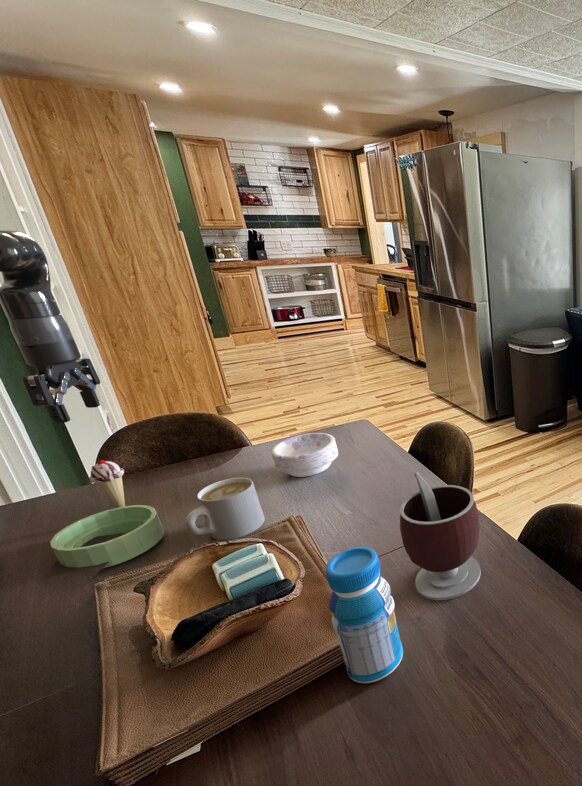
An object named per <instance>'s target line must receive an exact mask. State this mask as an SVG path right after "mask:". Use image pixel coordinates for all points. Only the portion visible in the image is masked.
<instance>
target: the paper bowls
mask: <svg viewBox="0 0 582 786" xmlns="http://www.w3.org/2000/svg"><path fill="white" fill-rule="evenodd" d="M338 449H339V448H338V446H337V443H336V438H335V437H334V435H331V434H329V433H326V432H312V433H311V432H310V433H304V434H298V435H294V436H292V437H288V438H286V439H284V440H281V441H280V442H278V443H276V444H275V445H274V446H273V447H272V449H271V456H272V459H273V463H274V466H275V469H276V470H277V471H278V472H282V473H287V474H288V475H290V476H292V477H296V478H305V477H311V476H316V475H318V474H321V473H323V472H324V471H326V470H327V469H329V467H330V466H331V464H332V463H333V462H334V460H336V459H337V458H338V456H339V450H338Z"/></svg>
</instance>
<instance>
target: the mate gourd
mask: <svg viewBox="0 0 582 786" xmlns="http://www.w3.org/2000/svg"><path fill="white" fill-rule="evenodd" d="M413 476H414V477H415V478H416V479H415V480H416V482H417V486H418V489H419V490H418V491H415V492H414V493H412V494H410V495H409V496H408V497H407V498H405V500H403V502H402V504H401V505H400V508H399V512H400V513H399V530H400V537H401V541H402V545H403V547H404V550H405V552H406V555H407V556H408V557H409V559H410V561H411V562H412V564H414V565H416V566H417V567H419V568H421V569H420V570H419V571H418V573H416V577H415V581H414V582H415V583H414V584H415V589H416V591H417V593H418V594H419V595H420V596H421V597H423V598H425V599H427V600H431V601H447V600H453V599H455V598H458V597H460V596H463V595H465V594H466V593H468V592H470V591H471V590H472V589H473V588H475V586H476V585H477V584H478V583H479V581H480V579H481V575H482V573H481V572H482V571H481V566H480V565H481V564H480V563H479V562H478V560H477V559H475V558H474V557H472V555H473V554H474V552H475V551H476V549H477V548H478V545H479V539H480V531H481V529H480V528H481V526H480V525H481V524H480V516H479V514H480V513H479V510H478V506H477V504H476V501H475V499H474V498H475V497H474V495H473V492H472V491H471V490H469V489H468V488H466V487H464V486H460V485H454V484H441V485H435V486H430V485H429V484H428V483H427V481H426V480H425V479H424V478H423V477H422V476H421V475H420V473H419V472H418V471H416V472H415V473H414V474H413Z"/></svg>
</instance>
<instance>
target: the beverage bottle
mask: <svg viewBox="0 0 582 786" xmlns="http://www.w3.org/2000/svg"><path fill="white" fill-rule="evenodd" d="M325 576H326V580H327V583H328V586H329V588H330V590H331V594H330V597H329V602H328V610H329V613H330V615H331V624H332V628H333V630H334V632H335V634H336V637H337V640H338V644H339V647H340V651H341V654H342V658H343V662H344V665H345V669H346V673H347V675H348V677H349V678H350V679H351V680H352V681H354V682H356V683H359V684H371V683H375V682H378V681H381V680H382V679H384V678H386V677H388V676H389V675H391V674H392V673H393V672H394V671H395V670H396V669H397V668H398V666H399V665H400V663H401V661H402V659H403V656H404V648H403V644H402V641H401V637H400V632H399V627H398V623H397V618H396V613H395V608H396V605H395V600H394V597H393V595H392V593H391V586H390V584H389V582H388V581H387V580H386V578H385V577H384V576H383V575H381V565H380V559H379V556H378V554H377V552H376V551H375V550H374V549H373V548H371V547H368V546H355V547H351V548H347V549H345V550H342V551H339V552H338V553H336V554H335V555H334V556H333V557H331V558H330V560H328V562H327V563H326V565H325Z"/></svg>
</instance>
